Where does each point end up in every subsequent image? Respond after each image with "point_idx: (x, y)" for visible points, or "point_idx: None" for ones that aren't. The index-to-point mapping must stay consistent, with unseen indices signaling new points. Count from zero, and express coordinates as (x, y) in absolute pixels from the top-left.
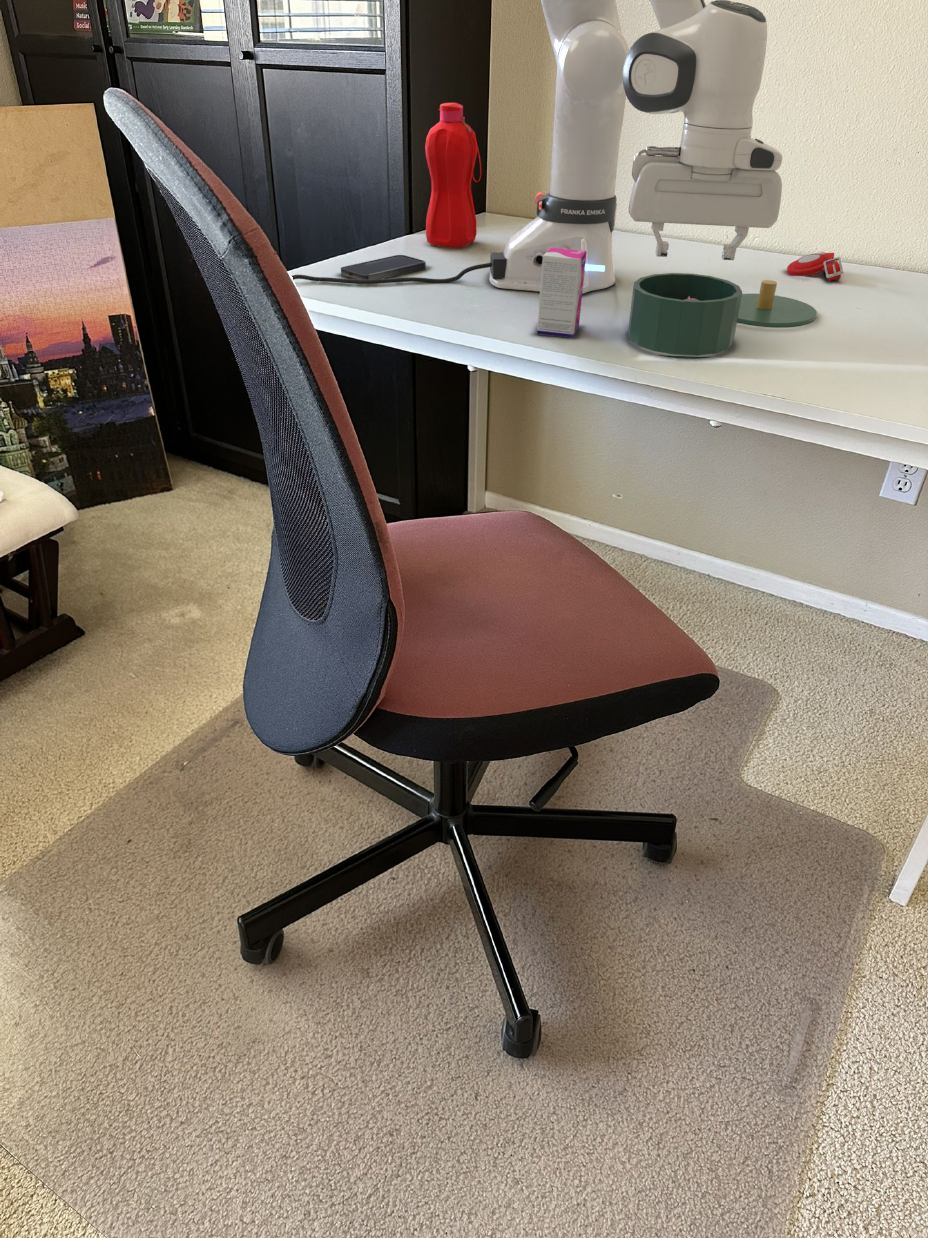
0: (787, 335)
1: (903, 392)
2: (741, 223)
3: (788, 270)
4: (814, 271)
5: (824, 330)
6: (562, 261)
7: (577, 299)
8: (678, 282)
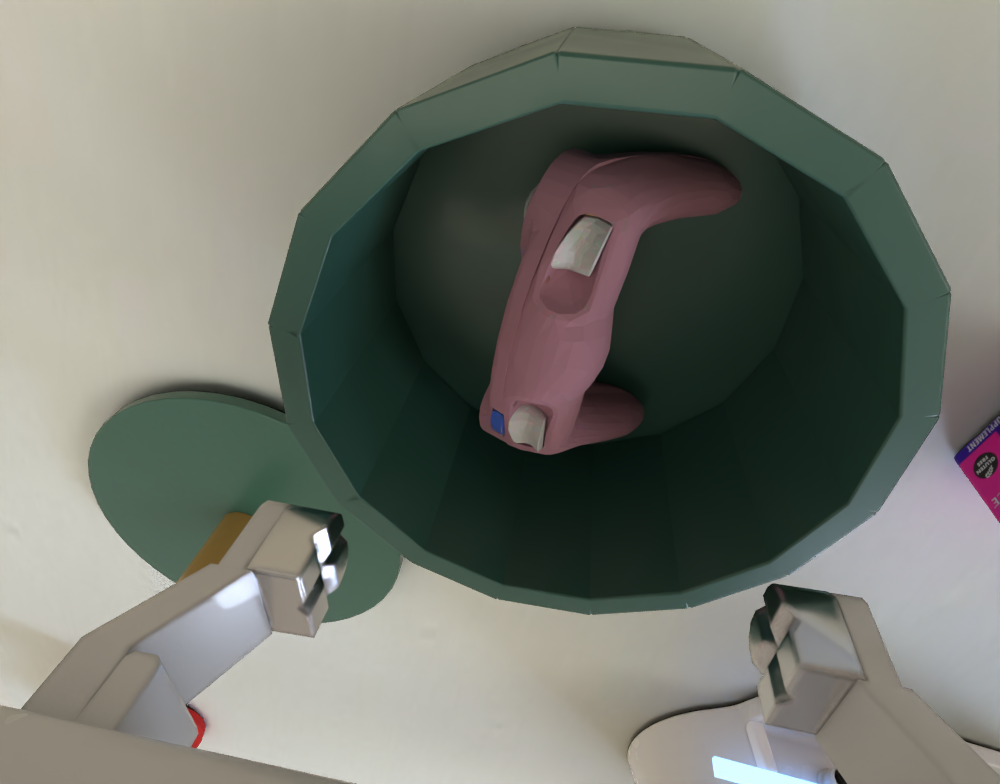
0: (173, 339)
1: None
2: (47, 751)
3: (198, 726)
4: None
5: (64, 380)
6: None
7: None
8: (560, 563)
